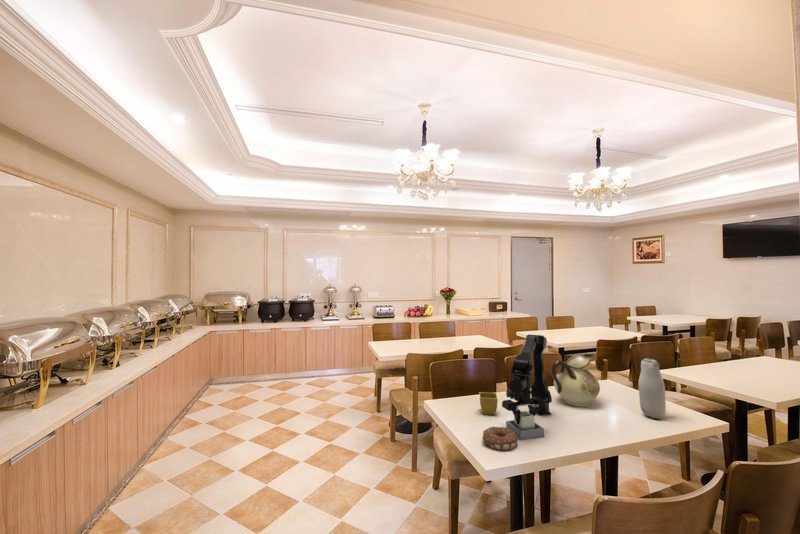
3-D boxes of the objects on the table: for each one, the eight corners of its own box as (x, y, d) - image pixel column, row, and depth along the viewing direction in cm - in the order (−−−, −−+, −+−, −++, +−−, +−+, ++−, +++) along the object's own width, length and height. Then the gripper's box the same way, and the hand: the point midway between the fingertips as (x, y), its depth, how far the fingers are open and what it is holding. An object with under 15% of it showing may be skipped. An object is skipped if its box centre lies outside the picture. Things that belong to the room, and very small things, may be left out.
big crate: (528, 426, 156) (528, 418, 157) (544, 436, 145) (544, 428, 146) (506, 428, 154) (505, 421, 154) (520, 440, 143) (520, 431, 143)
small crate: (526, 422, 153) (526, 411, 154) (534, 427, 148) (534, 415, 148) (514, 423, 152) (514, 412, 152) (522, 429, 146) (522, 417, 146)
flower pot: (498, 417, 168) (497, 398, 168) (480, 415, 169) (479, 397, 170) (496, 410, 176) (496, 392, 177) (479, 409, 178) (479, 392, 179)
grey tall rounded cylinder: (670, 418, 164) (666, 359, 165) (659, 422, 159) (656, 362, 160) (647, 411, 172) (644, 355, 174) (636, 415, 167) (633, 358, 169)
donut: (507, 435, 148) (507, 423, 148) (523, 450, 134) (523, 437, 135) (476, 438, 146) (475, 426, 146) (489, 453, 132) (489, 440, 132)
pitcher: (601, 400, 190) (599, 354, 191) (599, 414, 170) (597, 363, 171) (557, 394, 202) (555, 351, 203) (551, 406, 182) (549, 359, 183)
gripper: (530, 380, 161) (531, 414, 160) (495, 384, 156) (496, 418, 155) (546, 387, 150) (547, 423, 149) (508, 391, 145) (509, 428, 145)
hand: (524, 423), depth 150 cm, fingers closed on small crate, 6 cm apart
